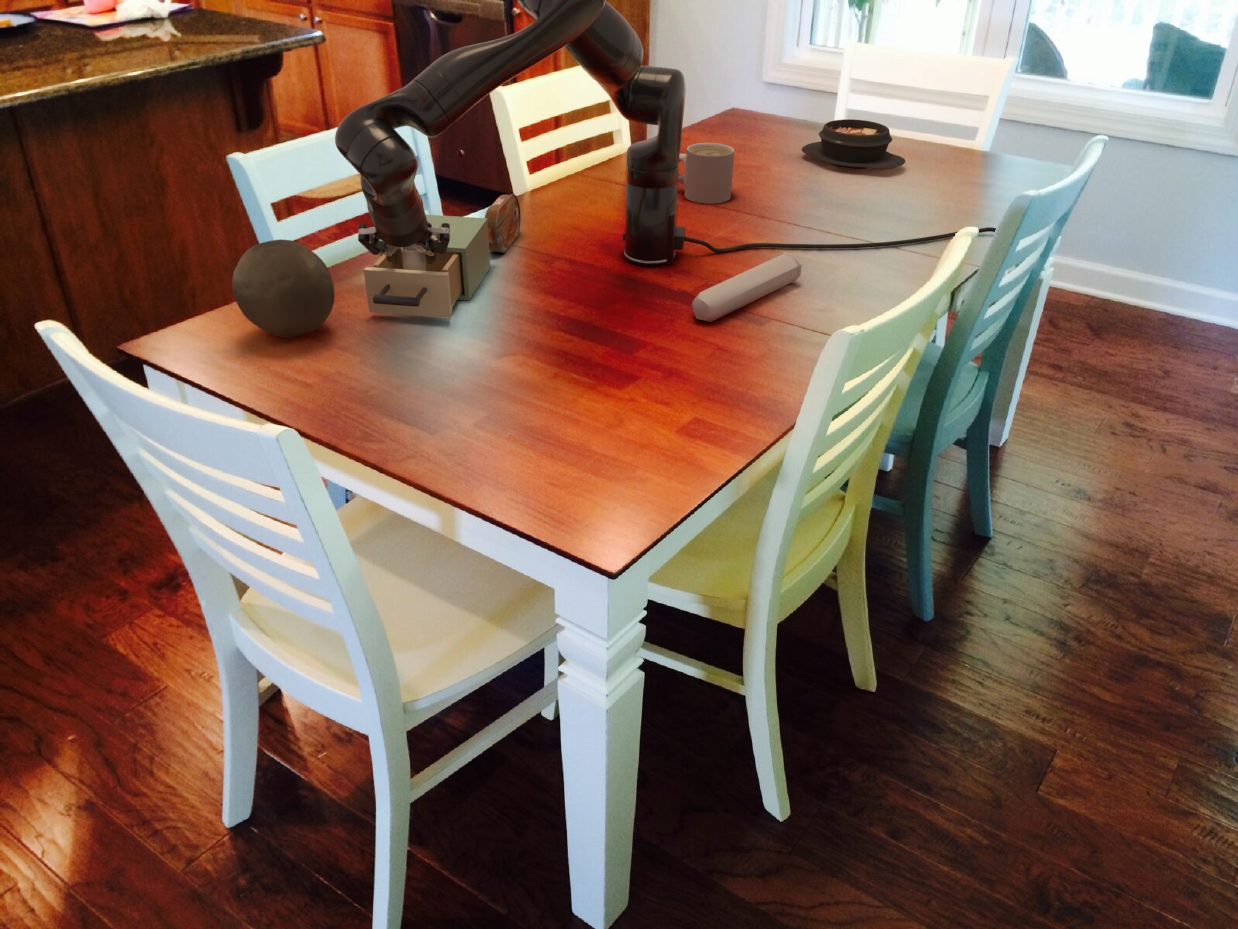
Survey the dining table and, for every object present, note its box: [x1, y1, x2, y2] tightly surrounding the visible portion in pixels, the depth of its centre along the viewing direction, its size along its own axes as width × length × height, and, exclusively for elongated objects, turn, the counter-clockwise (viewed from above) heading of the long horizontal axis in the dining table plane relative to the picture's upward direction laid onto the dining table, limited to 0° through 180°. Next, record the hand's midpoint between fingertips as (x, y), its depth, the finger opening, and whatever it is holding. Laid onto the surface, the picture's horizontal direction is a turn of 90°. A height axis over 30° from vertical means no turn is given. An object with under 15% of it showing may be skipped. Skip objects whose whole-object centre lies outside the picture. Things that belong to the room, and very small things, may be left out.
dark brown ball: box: [231, 239, 336, 338], centre depth 149 cm, size 14×14×15 cm
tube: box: [691, 251, 803, 323], centre depth 165 cm, size 5×5×25 cm
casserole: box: [800, 118, 906, 171], centre depth 233 cm, size 25×19×8 cm
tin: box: [484, 193, 522, 254], centre depth 185 cm, size 15×3×8 cm, turn 168°
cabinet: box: [379, 214, 491, 301], centre depth 170 cm, size 15×15×9 cm
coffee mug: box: [678, 142, 735, 205], centre depth 211 cm, size 13×10×10 cm
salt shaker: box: [401, 246, 426, 271], centre depth 158 cm, size 4×4×10 cm
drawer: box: [363, 249, 464, 319], centre depth 159 cm, size 19×13×7 cm
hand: (413, 258), depth 157 cm, fingers open, 5 cm apart
